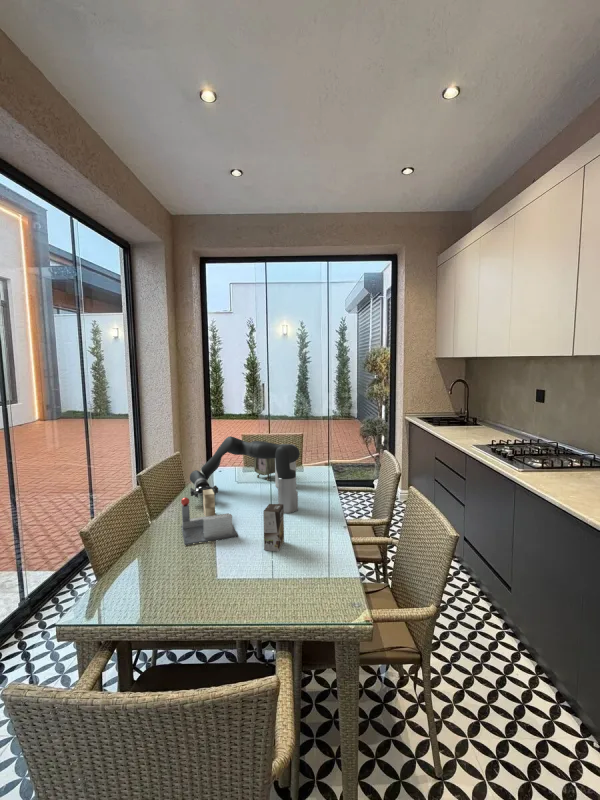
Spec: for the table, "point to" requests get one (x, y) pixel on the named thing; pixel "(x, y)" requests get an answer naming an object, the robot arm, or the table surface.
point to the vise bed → (198, 535)
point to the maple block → (208, 502)
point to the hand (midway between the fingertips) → (205, 494)
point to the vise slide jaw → (186, 517)
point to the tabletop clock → (264, 466)
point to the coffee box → (273, 527)
